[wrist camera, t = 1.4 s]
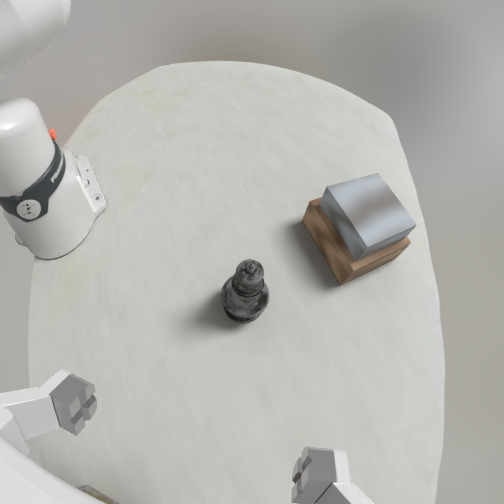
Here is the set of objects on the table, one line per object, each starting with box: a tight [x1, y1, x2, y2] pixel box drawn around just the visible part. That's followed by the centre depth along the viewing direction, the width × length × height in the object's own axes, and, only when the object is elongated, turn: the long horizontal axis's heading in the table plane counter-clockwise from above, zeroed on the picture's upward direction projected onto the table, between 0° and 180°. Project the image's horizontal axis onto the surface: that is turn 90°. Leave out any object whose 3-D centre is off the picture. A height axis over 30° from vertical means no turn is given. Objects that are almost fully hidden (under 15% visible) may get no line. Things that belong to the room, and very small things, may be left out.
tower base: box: [302, 173, 416, 285], centre depth 42 cm, size 12×12×9 cm
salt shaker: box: [221, 259, 269, 323], centre depth 34 cm, size 6×6×12 cm
